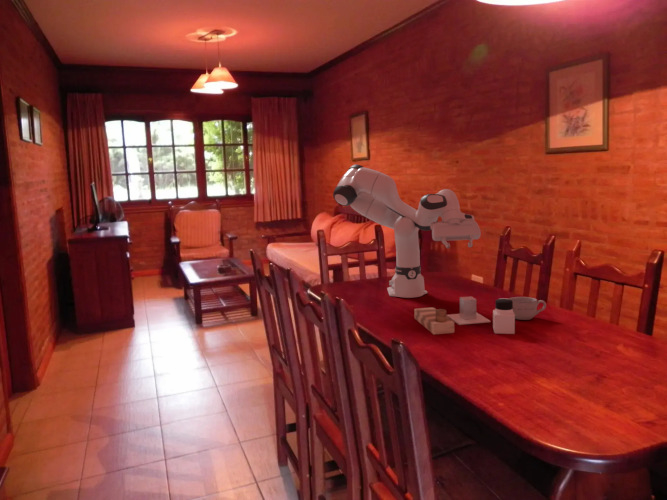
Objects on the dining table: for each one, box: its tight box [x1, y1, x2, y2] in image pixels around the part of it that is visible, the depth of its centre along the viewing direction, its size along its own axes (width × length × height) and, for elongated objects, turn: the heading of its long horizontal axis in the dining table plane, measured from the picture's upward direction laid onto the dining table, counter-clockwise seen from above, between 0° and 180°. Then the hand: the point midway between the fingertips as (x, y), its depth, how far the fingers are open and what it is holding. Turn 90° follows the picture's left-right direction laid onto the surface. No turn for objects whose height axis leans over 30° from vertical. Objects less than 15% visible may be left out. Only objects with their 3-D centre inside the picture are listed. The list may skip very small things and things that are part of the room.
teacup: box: [508, 296, 547, 321], centre depth 211 cm, size 14×11×8 cm
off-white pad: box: [446, 311, 491, 326], centre depth 214 cm, size 13×13×1 cm
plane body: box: [413, 306, 455, 335], centre depth 207 cm, size 22×8×8 cm, turn 10°
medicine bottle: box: [492, 297, 516, 335], centre depth 196 cm, size 7×7×12 cm
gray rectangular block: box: [459, 295, 477, 320], centre depth 213 cm, size 5×5×8 cm
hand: (459, 246), depth 222 cm, fingers open, 8 cm apart
